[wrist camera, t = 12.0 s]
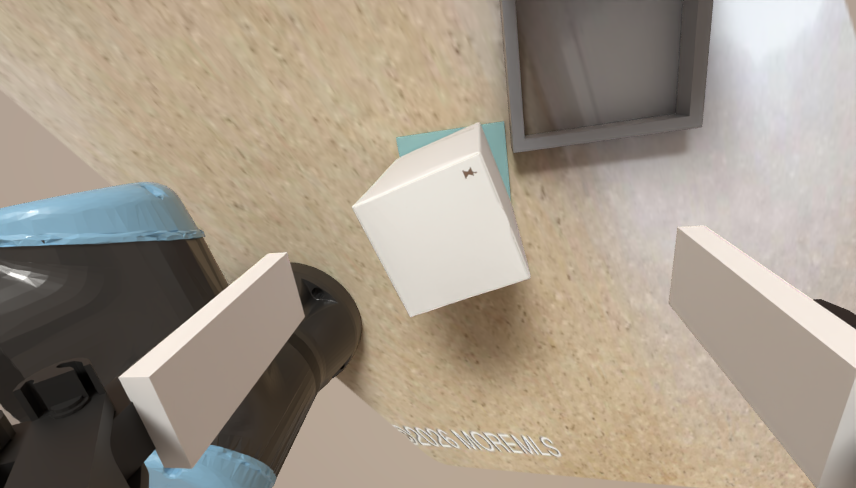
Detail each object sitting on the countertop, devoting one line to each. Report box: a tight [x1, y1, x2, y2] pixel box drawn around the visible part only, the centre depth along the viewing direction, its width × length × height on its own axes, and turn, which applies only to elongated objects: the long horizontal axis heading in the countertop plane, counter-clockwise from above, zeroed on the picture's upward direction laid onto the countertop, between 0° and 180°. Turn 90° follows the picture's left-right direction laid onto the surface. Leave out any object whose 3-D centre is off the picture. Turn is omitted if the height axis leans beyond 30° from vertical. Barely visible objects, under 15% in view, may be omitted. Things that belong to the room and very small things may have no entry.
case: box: [500, 0, 713, 153], centre depth 26 cm, size 15×16×16 cm
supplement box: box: [352, 122, 530, 317], centre depth 32 cm, size 9×9×15 cm
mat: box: [396, 121, 511, 201], centre depth 39 cm, size 10×10×1 cm
